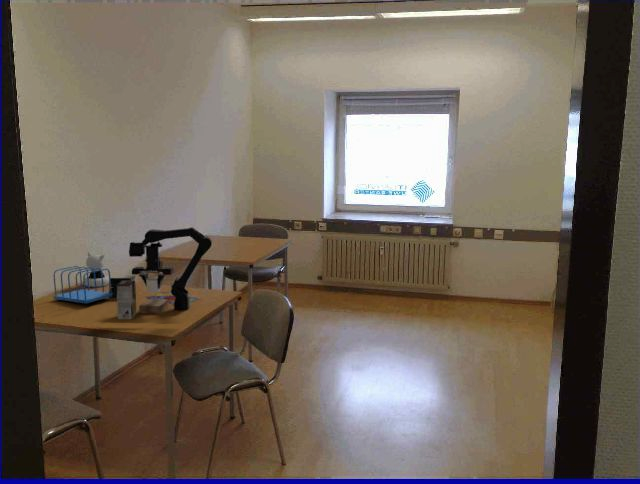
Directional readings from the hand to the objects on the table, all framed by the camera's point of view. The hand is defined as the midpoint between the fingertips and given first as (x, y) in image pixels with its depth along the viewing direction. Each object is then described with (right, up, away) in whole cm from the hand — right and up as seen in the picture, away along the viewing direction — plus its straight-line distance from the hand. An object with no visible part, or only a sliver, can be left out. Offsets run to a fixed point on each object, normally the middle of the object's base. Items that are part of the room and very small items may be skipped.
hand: (153, 288), depth 269 cm
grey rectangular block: (-25, -7, +24) cm, 35 cm away
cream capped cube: (0, -1, 0) cm, 1 cm away
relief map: (+3, -8, +24) cm, 25 cm away
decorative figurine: (-48, -3, +52) cm, 70 cm away
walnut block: (0, -10, +2) cm, 11 cm away
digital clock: (-25, -5, +37) cm, 45 cm away
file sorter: (-42, -7, +21) cm, 48 cm away
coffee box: (-9, -12, -11) cm, 19 cm away
